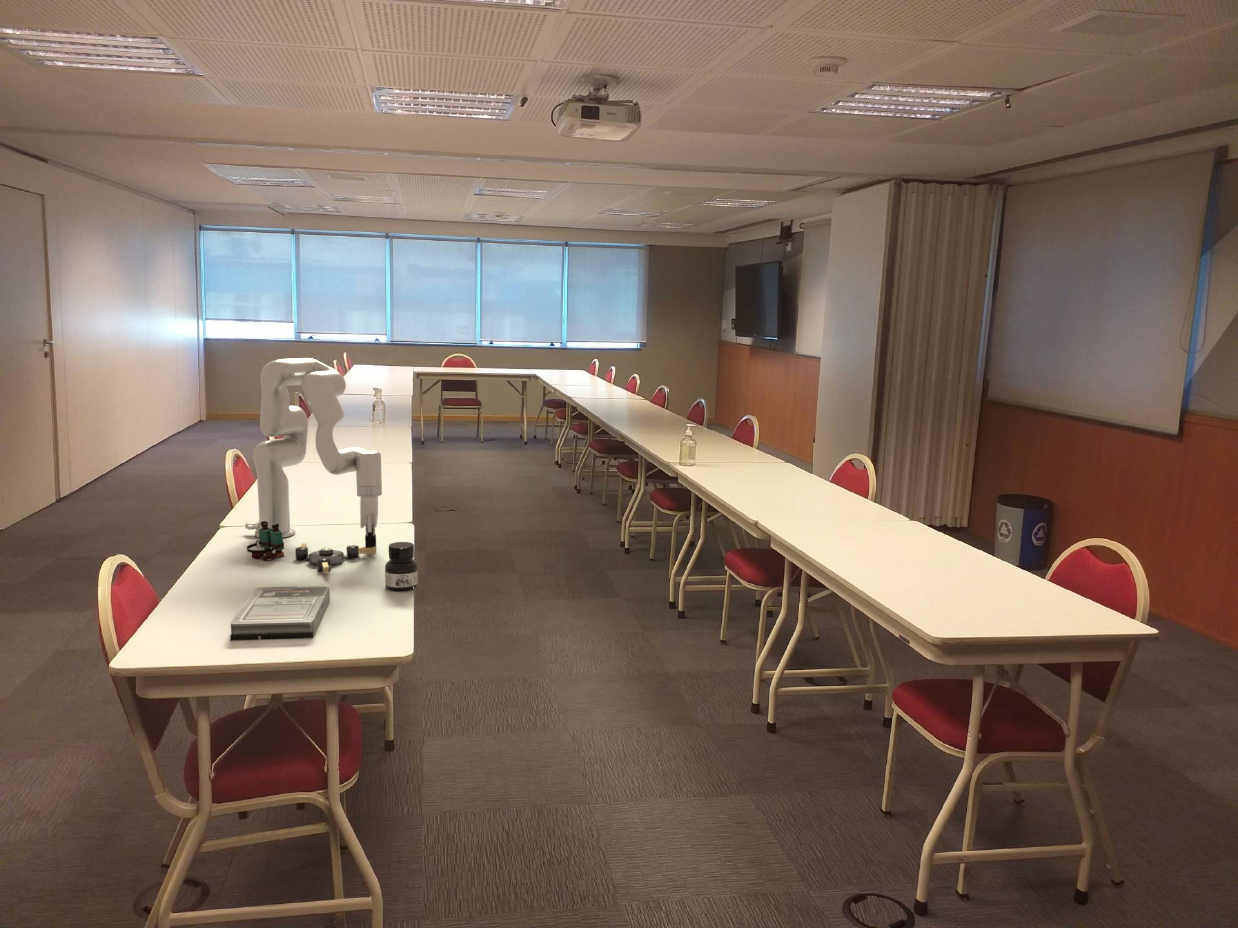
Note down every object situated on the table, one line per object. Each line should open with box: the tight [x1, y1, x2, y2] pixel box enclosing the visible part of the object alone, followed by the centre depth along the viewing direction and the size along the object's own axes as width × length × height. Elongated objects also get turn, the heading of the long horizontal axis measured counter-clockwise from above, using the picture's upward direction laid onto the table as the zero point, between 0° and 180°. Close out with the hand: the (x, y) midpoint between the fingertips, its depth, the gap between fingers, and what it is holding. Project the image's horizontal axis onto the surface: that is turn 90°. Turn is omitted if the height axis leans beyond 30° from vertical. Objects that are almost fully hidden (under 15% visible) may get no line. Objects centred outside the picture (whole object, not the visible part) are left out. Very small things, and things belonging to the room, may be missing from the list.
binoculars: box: [246, 521, 285, 562], centre depth 271 cm, size 9×11×10 cm
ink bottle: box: [384, 541, 419, 592], centre depth 247 cm, size 10×9×12 cm
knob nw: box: [295, 542, 309, 562], centre depth 274 cm, size 9×4×3 cm, turn 13°
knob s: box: [317, 558, 332, 574], centre depth 258 cm, size 9×4×3 cm, turn 23°
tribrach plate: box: [305, 547, 348, 568], centre depth 268 cm, size 12×11×4 cm
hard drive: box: [229, 585, 331, 642], centre depth 221 cm, size 18×27×4 cm
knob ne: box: [346, 544, 377, 560], centre depth 275 cm, size 9×4×3 cm, turn 103°
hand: (370, 547), depth 281 cm, fingers closed
